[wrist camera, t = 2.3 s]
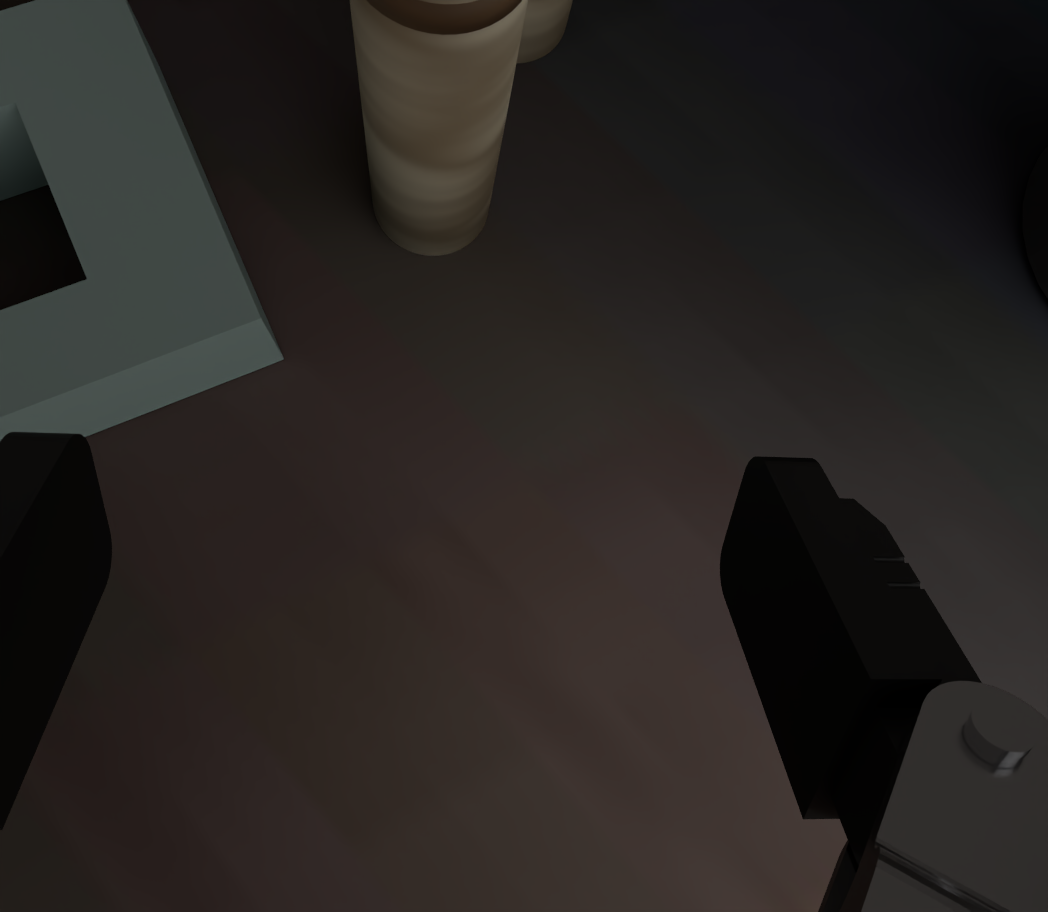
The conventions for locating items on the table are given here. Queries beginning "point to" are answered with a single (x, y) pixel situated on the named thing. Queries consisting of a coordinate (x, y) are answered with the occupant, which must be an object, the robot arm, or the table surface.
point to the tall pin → (434, 112)
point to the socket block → (114, 230)
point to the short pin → (542, 28)
